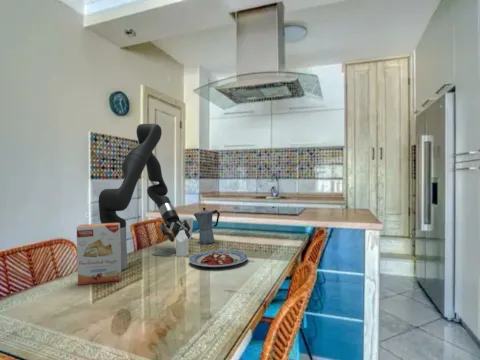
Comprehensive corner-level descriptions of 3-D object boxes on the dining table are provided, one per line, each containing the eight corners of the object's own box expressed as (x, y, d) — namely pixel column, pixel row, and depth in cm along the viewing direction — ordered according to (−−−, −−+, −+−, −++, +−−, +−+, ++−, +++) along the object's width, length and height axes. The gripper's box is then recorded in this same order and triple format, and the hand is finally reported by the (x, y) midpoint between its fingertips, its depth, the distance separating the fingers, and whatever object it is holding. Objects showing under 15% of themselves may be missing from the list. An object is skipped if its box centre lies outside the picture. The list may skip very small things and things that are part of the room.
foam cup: (192, 240, 178) (191, 218, 178) (176, 241, 178) (175, 218, 178) (194, 237, 188) (194, 216, 188) (180, 237, 188) (179, 216, 188)
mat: (165, 256, 144) (165, 255, 144) (152, 255, 147) (152, 254, 147) (182, 249, 157) (182, 249, 157) (169, 248, 160) (169, 247, 160)
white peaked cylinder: (174, 231, 143) (176, 229, 149) (175, 256, 143) (177, 253, 149) (187, 230, 143) (188, 228, 149) (187, 256, 143) (189, 253, 149)
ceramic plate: (176, 266, 128) (176, 259, 128) (210, 252, 151) (209, 246, 151) (229, 274, 116) (229, 267, 116) (257, 257, 139) (257, 251, 138)
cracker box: (77, 285, 107) (75, 226, 107) (81, 280, 113) (79, 224, 112) (120, 281, 111) (118, 224, 110) (121, 276, 116) (120, 221, 116)
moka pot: (191, 242, 174) (190, 207, 173) (217, 239, 180) (216, 205, 180) (196, 245, 165) (195, 208, 165) (223, 242, 172) (222, 207, 171)
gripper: (158, 210, 148) (170, 237, 140) (183, 207, 158) (196, 232, 149) (153, 220, 152) (165, 246, 144) (178, 217, 162) (190, 241, 153)
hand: (181, 239), depth 147 cm, fingers open, 8 cm apart
